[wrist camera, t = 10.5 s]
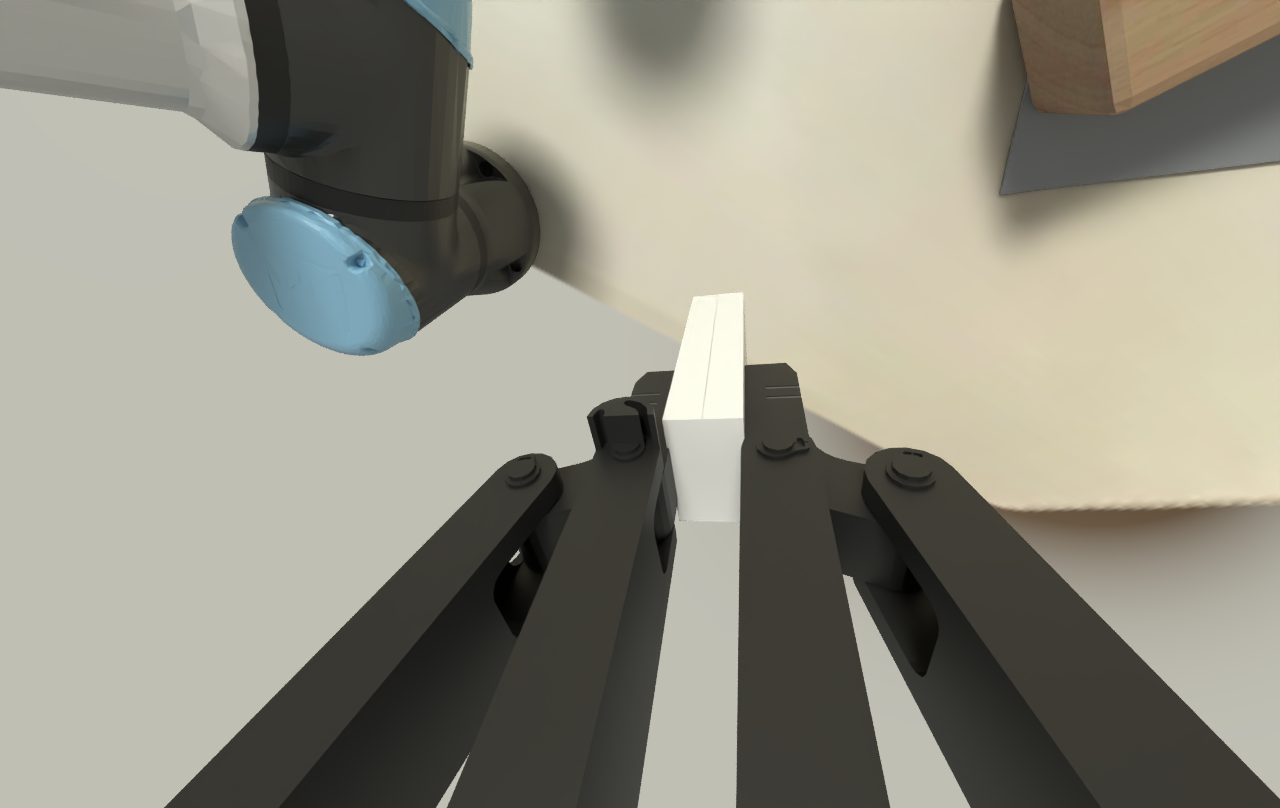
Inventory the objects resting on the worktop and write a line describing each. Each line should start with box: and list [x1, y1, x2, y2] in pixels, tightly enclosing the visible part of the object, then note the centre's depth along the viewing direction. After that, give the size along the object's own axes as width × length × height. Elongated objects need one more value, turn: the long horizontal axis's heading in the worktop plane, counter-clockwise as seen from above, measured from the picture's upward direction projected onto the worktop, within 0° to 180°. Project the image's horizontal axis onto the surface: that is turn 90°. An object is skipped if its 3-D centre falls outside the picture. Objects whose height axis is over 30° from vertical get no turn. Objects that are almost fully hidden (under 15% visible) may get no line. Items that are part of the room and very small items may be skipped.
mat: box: [999, 35, 1280, 195], centre depth 32 cm, size 20×16×1 cm
